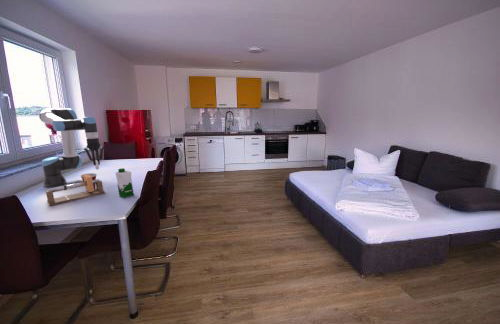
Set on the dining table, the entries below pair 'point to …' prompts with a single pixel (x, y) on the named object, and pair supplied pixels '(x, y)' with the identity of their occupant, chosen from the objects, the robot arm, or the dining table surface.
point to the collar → (88, 183)
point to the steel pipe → (72, 186)
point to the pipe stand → (74, 195)
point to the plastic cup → (91, 176)
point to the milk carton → (124, 183)
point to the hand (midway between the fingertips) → (97, 169)
